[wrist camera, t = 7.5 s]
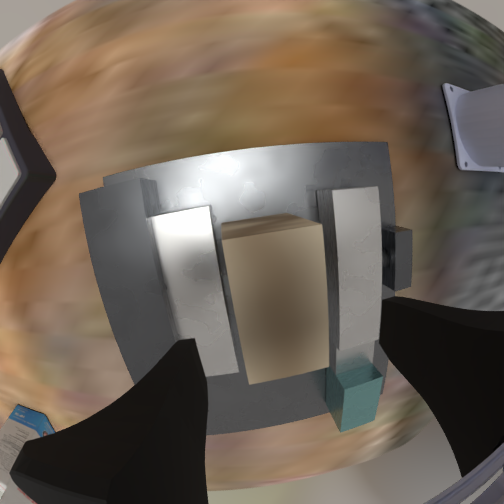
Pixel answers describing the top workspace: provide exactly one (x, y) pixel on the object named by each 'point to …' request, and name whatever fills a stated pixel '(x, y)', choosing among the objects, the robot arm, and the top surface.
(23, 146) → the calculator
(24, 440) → the ink box
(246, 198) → the vise base
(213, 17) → the top surface
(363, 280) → the sliding jaw
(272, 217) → the birch block
